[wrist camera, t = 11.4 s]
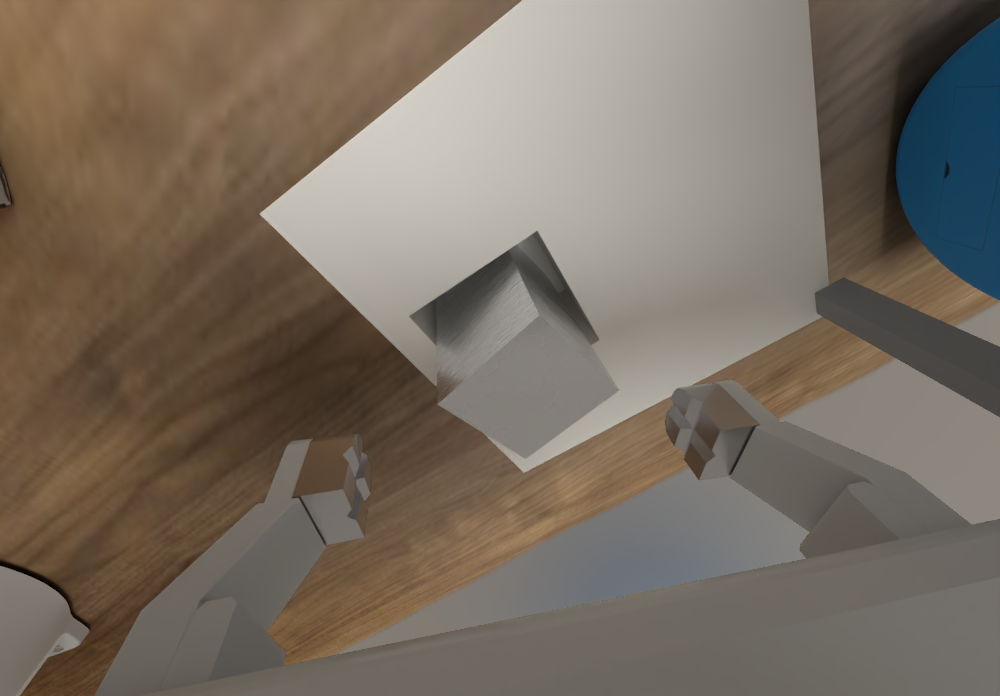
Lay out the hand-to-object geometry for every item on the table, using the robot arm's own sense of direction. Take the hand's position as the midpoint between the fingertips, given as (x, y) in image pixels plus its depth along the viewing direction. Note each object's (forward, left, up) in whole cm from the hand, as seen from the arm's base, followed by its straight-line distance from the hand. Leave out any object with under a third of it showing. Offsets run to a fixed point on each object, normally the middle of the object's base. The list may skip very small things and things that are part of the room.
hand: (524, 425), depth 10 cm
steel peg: (0, -1, -11) cm, 11 cm away
